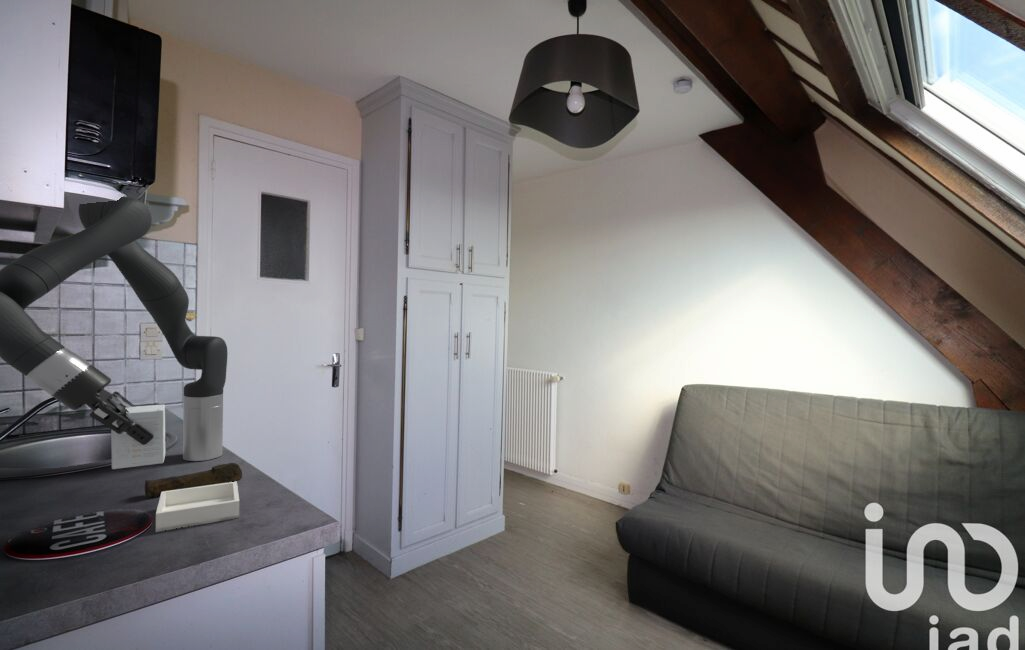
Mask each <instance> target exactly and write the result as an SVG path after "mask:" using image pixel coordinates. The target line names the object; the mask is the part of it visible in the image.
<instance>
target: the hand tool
mask: <svg viewBox="0 0 1025 650" xmlns="http://www.w3.org/2000/svg"><path fill="white" fill-rule="evenodd" d="M242 478H243V472H242V469H241V467H240V465H239V464H237V463H235V462H229V463H223V464H217V465H214V466H212V467H211V469H209V470H205V471H199V472H193V473H188V474H183V475H176V476H175V475H174V476H169V477H163V478H159V479H154V480H149V479H146V480H145V481H144V494H145V498H146V499H150V498H151V497H155V498H157V497H158V496H159V495H160V496H161V492H163V491H170V490H177V489H185V488H192V487H199V486H207V485H214V484H221V483H228V482H231V481H234V482H236V481H238V479H239V480H242ZM235 480H236V481H235Z"/></svg>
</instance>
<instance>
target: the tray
mask: <svg viewBox="0 0 1025 650" xmlns="http://www.w3.org/2000/svg"><path fill="white" fill-rule="evenodd" d="M239 494H240V493H239V487H238V480H236V481H234V482H229V483H221V484H214V485H213V484H212V485H204V486H199V487H192V488H185V489H177V490H170V491H163V492H161V494H160V496H159V499H158V500H159V501H158V504H157V508H156V512H155V533H159V532H165V530H166V531H171V530H176V528H177V529H182V528H181V527H183V528H188V526H189V527H194V525H195V526H199V525H206V524H211V523H218V522H223V521H229V520H230V521H231V520H234V519H235V520H236V519H239V518H240V495H239Z"/></svg>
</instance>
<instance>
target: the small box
mask: <svg viewBox="0 0 1025 650" xmlns="http://www.w3.org/2000/svg"><path fill="white" fill-rule="evenodd" d="M135 406H136V405H135ZM125 409H127V410H128V411H129V413H128V416H129V417H130V418H132V419H133V420H134V421H136V423H137V424H139V425H140V426H142V427H143V428H144V429H146V430H147V431H149V432H150V433H151V434H153V438H152V439H151V440H150V441H149V442H148V443H147V444H145V445H142V444H141V443H139V442H138V441H136V440H135V439H134V438H132V437H131V436H129V435H128V434H127V433H126V434H124V433H121V434H118V433H116V432H115V431H113V430H112V429H110V430H111V433H110V434H111V438H110V439H111V440H110V441H111V443H110V446H111V448H110V449H111V470H117V469H118V470H119V469H124V468H125V469H126V468H133V467H141V466H142V467H143V466H151V465H157V464H163V463H164V461H165V457H166V405H165V404H155V405H154V404H151V405H137V406H136V407H125ZM118 414H121V412H120V413H118ZM122 423H123V422H122V421H120V422H119V423H118V424H119V425H121V424H122ZM137 424H136V425H137Z"/></svg>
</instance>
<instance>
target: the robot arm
mask: <svg viewBox="0 0 1025 650" xmlns="http://www.w3.org/2000/svg"><path fill="white" fill-rule="evenodd" d="M122 196H123V195H122ZM78 217H79V220H80V223H81V224H82V226H83V228H84V229H83V230H80V231H77V232H76V233H73V234H71V235H68V236H66V237H63V238H59V239H56V240H53V241H51V242H48V243H44V244H42V245H40V246H38V247H35V248H34V249H31V250H29V251H27V252H25V253H24V254H22V255H21V256H19V257H18V258H16V259H14V260H13V261H11V262H10V263H8V264H6V265H5V266H4V267H2V268H1V269H0V359H2V360H3V361H4V362H5V363H7V364H8V365H9V366H11V367H12V368H13V369H15V370H16V371H18V372H20V373H21V374H22V375H24V376H26V378H28V379H29V380H30V381H31V382H32V383H33V384H35V385H36V386H37V387H38V388H40V389H41V390H42V391H44V392H45V393H47V394H48V395H50V396H51V397H53V398H54V399H56V400H57V401H58V402H60V403H62V404H63V405H64V406H66V407H67V408H69V409H70V410H72V411H77V410H79V409H80V408H81V407H83V406H84V405H87V407H88V408H90V409H91V410H92V412H90V414H89V416H90V418H92V419H94V420H95V421H97V422H99V423H100V424H102V425H104V426H105V427H107V428H108V429H110V430H111V429H112V430H113V431H115V432H116V433H118V434H121V433H124V434H126V433H127V434H128V435H129V436H131V437H132V438H134V439H135V440H136V441H138V442H139V443H141V444H142V445H145V444H147V443H148V442H149V441H150V440H151V439H152V438H153V434H151V433H150V432H149V431H147V430H146V429H144V428H143V427H142V426H140V425H139V424H137V423H136V421H134V420H133V419H132V418H130V417H129V416H128V413H129V411H128V410H127V409H125V407H136V405H135V404H133V403H132V402H131V401H130V400H128V399H127V398H126V397H124V396H123V395H122V394H121V393H120V392H119V391H114V392H113V393H112V392H110V391H108V390H106V389H105V388H106V387H107V386H109V385H110V384H111V382H112V379H111V378H110V376H108V375H107V374H105V373H104V372H102V371H101V370H99V369H98V368H97V367H96V366H94V365H93V364H91V363H90V362H89V361H87V360H86V359H84V358H83V357H82V356H80V355H79V354H78V353H76V352H74V351H72V350H70V349H69V348H68V347H65V346H64V345H63V344H61V342H59V341H58V340H56V339H55V338H53V337H52V336H51V335H50V334H48V333H46V332H44V331H43V330H42V329H41V328H40V327H39V326H38V324H37V323H36V321H35V320H34V319H33V318H32V317H31V316H30V315H29V314H28V313H27V312H26V308H28V307H29V306H30V305H31V304H33V303H34V302H36V301H37V300H39V299H41V298H42V297H44V296H45V295H47V294H48V293H50V292H51V291H52V290H54V289H55V288H56V287H58V286H59V285H61V284H62V283H63V282H65V281H67V279H69V278H70V277H71V276H73V275H74V274H76V273H77V272H80V271H81V270H83V269H84V268H86V267H87V266H89V265H90V264H92V263H94V262H96V261H98V260H100V259H101V258H103V257H105V256H107V257H109V259H110V260H111V261H112V262H113V263H114V265H115V266H116V268H117V269H118V271H119V272H120V273H121V275H122V276H123V277H124V278H125V280H126V281H127V283H128V284H129V287H131V288H132V290H133V292H134V293H135V295H136V297H137V298H138V299H139V301H140V302H141V303H142V305H143V306H144V308H145V309H146V310H147V312H148V313H149V314H150V316H151V317H152V319H153V321H154V323H155V324H156V325H157V327H158V329H159V330H160V332H161V333H162V335H163V336H164V338H165V340H166V342H167V344H168V346H169V347H170V350H171V352H172V353H173V356H174V358H175V359H176V361H177V362H178V363H179V365H180V366H181V367H183V368H185V369H188V370H200V371H201V375H200V378H199V379H198V380H197V379H196V381H192V382H189V383H186V384H185V385H184V386H183V407H182V409H183V411H182V412H183V413H182V415H183V417H182V419H183V423H182V424H183V425H182V428H183V429H182V431H183V432H182V435H183V436H182V459H183V460H184V461H188V462H202V461H210V460H213V459H217V458H219V457H221V456H222V455H223V437H224V435H223V434H224V430H223V428H224V387H225V385H226V381H227V367H228V366H227V365H228V353H229V352H228V346H227V343H226V341H225V340H224V338H222V337H219V336H210V335H196V334H195V333H194V332H193V331H192V330H191V328H190V326H189V325H188V323H187V321H186V319H187V314H188V310H189V303H190V302H189V301H190V299H189V295H188V293H187V291H186V289H185V288H184V286H183V285H182V282H181V281H180V279H179V278H178V277H177V275H176V274H175V273H174V271H172V270H171V269H170V268H169V267H167V266H166V265H165V264H164V263H163V262H161V261H160V260H159V259H158V258H157V257H155V256H153V255H152V254H151V253H149V252H148V251H147V250H146V249H144V248H143V247H142V245H141V244H140V243H139V241H137V240H140V239H142V237H144V236H145V235H146V234H147V233H148V232H149V230H150V229H151V226H152V222H153V219H152V218H153V217H152V213H151V210H150V209H149V207H148V206H147V205H146V204H145V203H144V202H143V201H142V200H140V199H137V198H135V197H130V196H125V195H124V196H123V197H121V198H120V199H119V200H117V201H108V202H96V203H87V204H80V203H79V205H78ZM120 412H121V414H118V413H120ZM120 421H122V422H123V423H122V424H121V425H119V424H118V423H119V422H120ZM136 424H137V425H136Z"/></svg>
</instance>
